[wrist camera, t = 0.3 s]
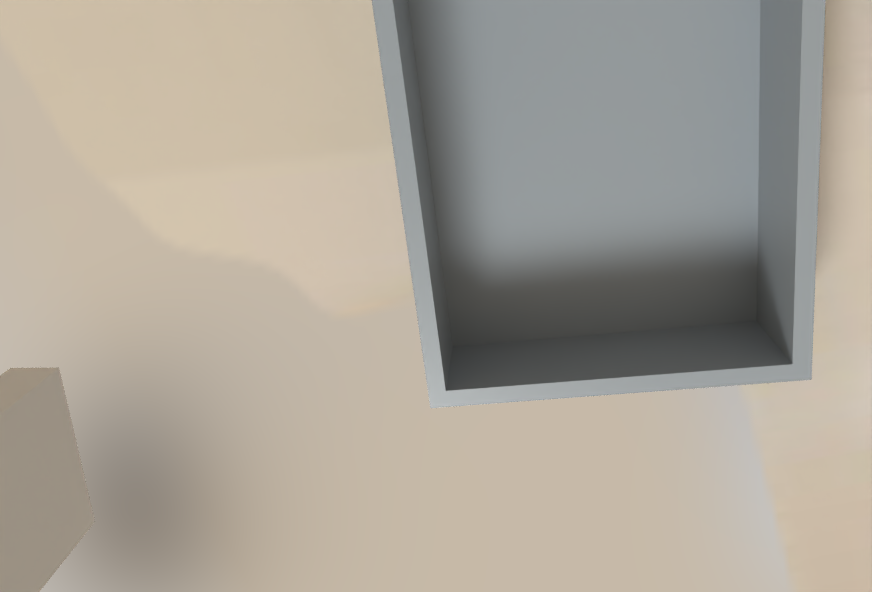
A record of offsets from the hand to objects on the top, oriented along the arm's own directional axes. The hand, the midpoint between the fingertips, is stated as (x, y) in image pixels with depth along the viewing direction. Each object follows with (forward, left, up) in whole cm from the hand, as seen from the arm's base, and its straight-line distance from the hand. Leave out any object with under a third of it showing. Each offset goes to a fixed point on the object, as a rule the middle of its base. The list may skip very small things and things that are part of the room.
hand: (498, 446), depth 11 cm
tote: (-2, +4, -27) cm, 27 cm away
